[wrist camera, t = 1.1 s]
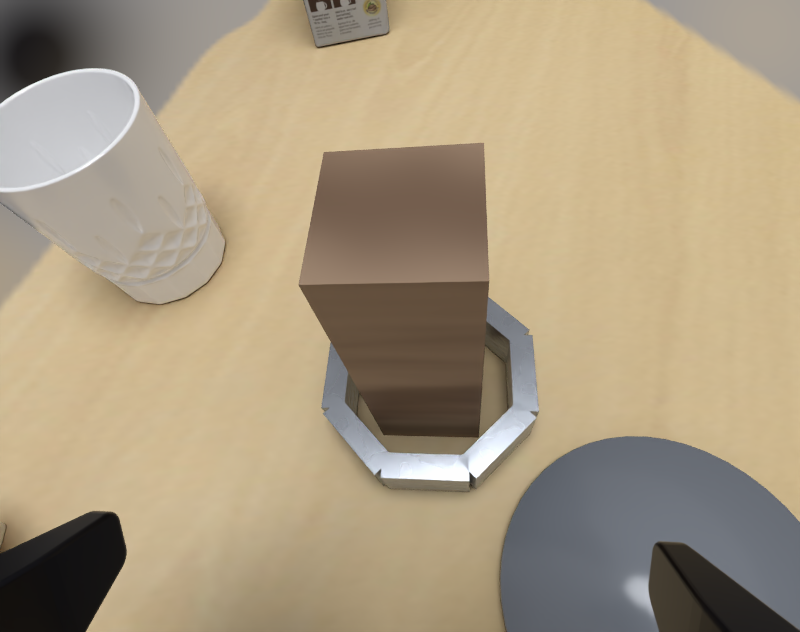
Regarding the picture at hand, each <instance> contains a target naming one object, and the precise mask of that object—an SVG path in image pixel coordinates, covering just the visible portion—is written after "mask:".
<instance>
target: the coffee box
mask: <svg viewBox="0 0 800 632" xmlns="http://www.w3.org/2000/svg"><path fill="white" fill-rule="evenodd" d="M303 1H304V5H305V8H306V12H307V15H308V19H309V22H310V26H311V30H312V33H313V37H314V41H315V44H316V46H318V47H320V46H325V45H330V44H335V43H340V42H345V41H351V40H356V39H361V38H366V37H371V36H376V35H382V34H386V33H387V32H388V31H389V21H388V12H387V4H386V0H303Z"/></svg>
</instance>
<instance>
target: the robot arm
mask: <svg viewBox="0 0 800 632" xmlns="http://www.w3.org/2000/svg"><path fill="white" fill-rule="evenodd" d="M126 555H127V549H126V544H125V540H124V536H123V532H122V528H121V524H120V520H119V517H118V516H117V515H116V514H115V513H113V512H106V511H92V512H89V513H86V514H84V515H82V516H80V517H78V518H76V519H73V520H71V521H69V522H67V523H65V524H63V525H61V526H59V527H56V528H54V529H52V530H50V531H48V532H46V533H44V534H41V535H39V536H37V537H35V538H33V539H31V540H29V541H27V542H24V543H22V544H20V545H18V546H16V547H14V548H12V549H9V550H7V551H5V552H3V553H1V554H0V632H86V630H87V628H88V627H89V625H90V623H91V621H92V620H93V618H94V616H95V614H96V613H97V611H98V609H99V607H100V605H101V604H102V602H103V600H104V598H105V597H106V595H107V593H108V591H109V590H110V588H111V586H112V584H113V583H114V581H115V579H116V577H117V576H118V574H119V572H120V570H121V569H122V567H123V565H124V562H125V559H126ZM648 590H649V597H650V602H651V606H652V609H653V612H654V616H655V619H656V622H657V626H658V629H659V632H800V630H799V629H798V628H796V627H795V626H794V625H792V624H791V623H790V622H788V621H787V620H786V619H785V618H783V617H782V616H781V615H779V614H778V613H777V612H775V611H774V610H773V609H771V608H770V607H769V606H767V605H766V604H765V603H763V602H762V601H761V600H760V599H758V598H757V597H756V596H754V595H753V594H752V593H750V592H749V591H748V590H746V589H745V588H744V587H742V586H741V585H740V584H739V583H737V582H736V581H735V580H733V579H732V578H731V577H729V576H728V575H727V574H725V573H724V572H723V571H721V570H720V569H719V568H717V567H716V566H715V565H714V564H712V563H711V562H710V561H708V560H707V559H706V558H704V557H703V556H702V555H700V554H699V553H698V552H696V551H695V550H694V549H693V548H691V547H690V546H688V545H687V544H685V543H681V542H666V541H658V542H656V543H655V544H654V546H653V550H652V558H651V566H650V574H649V583H648Z"/></svg>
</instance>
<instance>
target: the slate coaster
mask: <svg viewBox="0 0 800 632" xmlns="http://www.w3.org/2000/svg"><path fill="white" fill-rule="evenodd" d="M658 541H666V542H681V543H685V544H687V545H688V546H690V547H691V548H693V549H694V550H695V551H696V552H698V553H699V554H700V555H702V556H703V557H704V558H706V559H707V560H708V561H710V562H711V563H712V564H714V565H715V566H716V567H717V568H719V569H720V570H721V571H723V572H724V573H725V574H727V575H728V576H729V577H731V578H732V579H733V580H735V581H736V582H737V583H739V584H740V585H741V586H742V587H744V588H745V589H746V590H748V591H749V592H750V593H752V594H753V595H754V596H756V597H757V598H758V599H760V600H761V601H762V602H763V603H765V604H766V605H767V606H769V607H770V608H771V609H773V610H774V611H775V612H777V613H778V614H779V615H781V616H782V617H783V618H785V619H786V620H787V621H788V622H790V623H791V624H792V625H794V626H795V627H796V628H798V629H799V630H800V522H799V521H798V520H797V519H796V518H795V517H794V515H793V514H792V513H791V512H790V511H789V510H788V509H787V508H786V507H785V506H784V505H783V504H782V503H781V502H780V501H779V500H778V499H777V498H776V497H775V496H773V495H772V494H771V493H770V492H769V491H768V490H767V489H766V488H764V487H763V486H762V485H760V484H759V483H758V482H756V481H755V480H754V479H753V478H751V477H750V476H749V475H747V474H746V473H744V472H742V471H741V470H739V469H738V468H736V467H734V466H733V465H731V464H729V463H728V462H726V461H724V460H722V459H720V458H718V457H716V456H714V455H712V454H710V453H708V452H705V451H703V450H700V449H697V448H694V447H692V446H689V445H686V444H682V443H678V442H674V441H670V440H666V439H660V438H652V437H631V436H626V437H617V438H609V439H604V440H600V441H596V442H592V443H589V444H587V445H584V446H582V447H579V448H577V449H574V450H572V451H571V452H569V453H567V454H566V455H564V456H562V457H560V458H559V459H557V460H556V461H555V462H554V463H552V464H551V465H550V466H549V467H547V468H546V469H545V470H544V471H543V472H542V473H541V474H540V475H539V476H538V477H537V478H536V480H535V481H534V482H533V483H532V484H531V485H530V487H529V488H528V490H527V491H526V493H525V494H524V496H523V497H522V499H521V500H520V502H519V504H518V506H517V508H516V510H515V512H514V514H513V516H512V518H511V521H510V524H509V527H508V530H507V533H506V536H505V542H504V547H503V552H502V557H501V571H500V589H501V604H502V610H503V616H504V622H505V627H506V631H507V632H659V629H658V626H657V622H656V619H655V616H654V612H653V609H652V606H651V602H650V597H649V590H648V583H649V574H650V566H651V558H652V550H653V546H654V544H655V543H656V542H658Z"/></svg>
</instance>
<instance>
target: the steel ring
mask: <svg viewBox="0 0 800 632" xmlns="http://www.w3.org/2000/svg"><path fill="white" fill-rule="evenodd" d="M528 333H529V329H528V328H526V327H525V326H524V325H523V324H521V323H520V322H519V321H518V320H516V319H515V318H514V317H513V316H511V315H510V314H509V313H508V312H506V311H505V310H504V309H503V308H501V307H500V306H499V305H498V304H496V303H495V302H494V301H493V300H491V299H490V298H489V297H488V305H487V320H486V334H485V345H486V346H487V347H488V348H489V349H490V350H491V351H493V352H494V353H495V354H496V355H497V356H498V357H500V358H501V359H502V360H503V361H504V362H505V363H506V376H507V394H508V411H507V412H506V413H505V414H504V415H503V416H502V417H501V418H500V419H499V420H498V421H497V422H496V423H495V424H494V425H492V426H491V427H490V428H489V429H488V430H487V431H486V432H485V433H484V434H483V435H482V436H481V437H480V438H479V439H478V440H477V441H476V442H475V443H474V444H473V445H472V446H471V447H470V448H469V449H468V450H467V451H466V452H465V453H464V454H463V455H450V454H417V453H389V452H388V451H387V450H386V449H385V448H384V447H383V445H382V444H381V443H380V442H379V441H378V440H377V439H376V438H375V436H374V435H373V434H372V433H371V432H370V431H369V430H368V428H367V427H366V426H365V425H364V424H363V423H362V422H361V420H360V419H359V418H358V417H357V407H358V397H359V390H358V389H357V387H356V385H355V383H354V382H353V380H352V378H351V376H350V375H349V373H348V371H347V369H346V368H345V366H344V364H343V362H342V360H341V359H340V357H339V355H338V353H337V352H336V350H335V348H334V346H333V345H332V343H331V344H330V351H329V358H328V365H327V372H326V379H325V386H324V393H323V400H322V407H321V408H322V409H323V410H324V411H325V412H324V413H323V414H324V415H325V417H326V418H327V419H328V420H329V421H330V422H331V424H332V425H333V426H334V427H335V428H336V430H337V431H338V432H339V433H340V434H341V436H342V437H343V438H344V439H345V440H346V442H347V443H348V444H349V445H350V446H351V447H352V449H353V450H354V451H355V452H356V453H357V455H358V456H359V457H360V458H361V459H362V461H363V462H364V463H365V464H366V465H367V467H368V468H369V469H370V470H371V471H372V473H373V474H374V475H375V476H376V477H377V478H378V480H379V481H380V482H381V483H382V484H383V485H385V484H386V485H387V486H388V487H389V488H390V489H410V490H435V491H459V492H469V483H470V484H471V485H472V486H473V488H474V489H476V488H477V487H478V486H479V485H480V484H481V483H482V482H483V481H484V480H485V479H486V478H487V477H488V476H489V475H490V474H491V473H492V472H493V471H494V470H495V469H496V468H497V467H498V466H499V465H500V464H501V463H502V462H503V461H504V460H505V459H506V458H507V457H508V456H509V455H510V454H511V453H512V452H513V451H514V450H515V449H516V448H517V447H518V446H519V445H520V444H521V443H522V442H523V441H524V440H525V439H526V438H527V437H528V436H529V435H530V432H531V430H532V428H533V425H534V423H535V420H536V417H537V415H538V412H539V408H538V396H537V385H536V373H535V361H534V349H533V338H532V335H528Z"/></svg>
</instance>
